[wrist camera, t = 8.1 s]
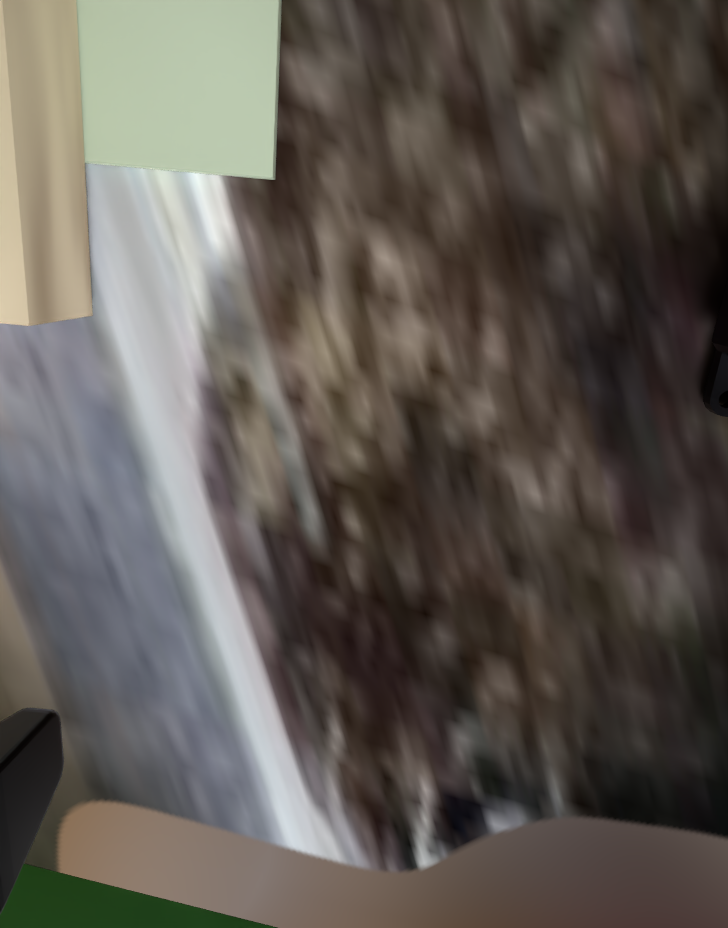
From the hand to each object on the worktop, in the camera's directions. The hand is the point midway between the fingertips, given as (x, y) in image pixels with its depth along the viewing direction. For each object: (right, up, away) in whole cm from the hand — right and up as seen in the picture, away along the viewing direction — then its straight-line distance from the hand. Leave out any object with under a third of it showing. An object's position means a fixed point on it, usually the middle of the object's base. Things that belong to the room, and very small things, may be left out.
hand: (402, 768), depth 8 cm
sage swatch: (-6, +15, +8) cm, 18 cm away
